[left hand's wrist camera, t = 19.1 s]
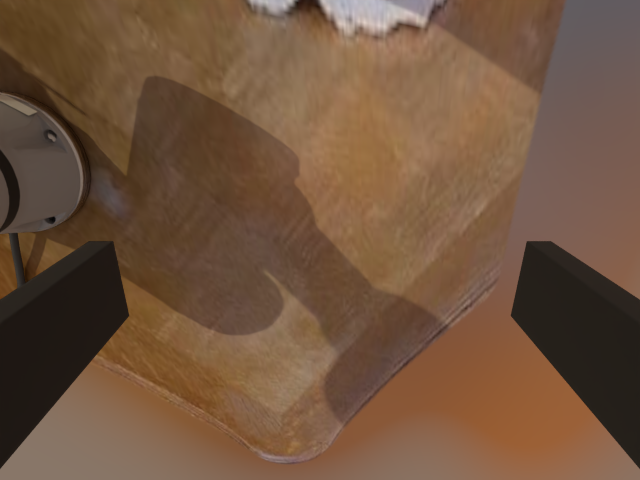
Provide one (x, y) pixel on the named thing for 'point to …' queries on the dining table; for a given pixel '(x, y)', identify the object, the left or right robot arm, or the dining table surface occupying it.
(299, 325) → the dining table surface
